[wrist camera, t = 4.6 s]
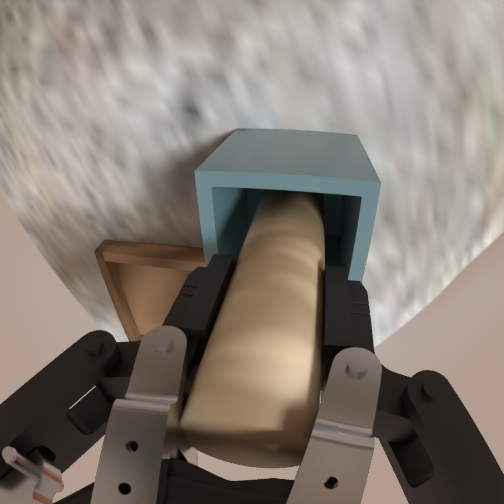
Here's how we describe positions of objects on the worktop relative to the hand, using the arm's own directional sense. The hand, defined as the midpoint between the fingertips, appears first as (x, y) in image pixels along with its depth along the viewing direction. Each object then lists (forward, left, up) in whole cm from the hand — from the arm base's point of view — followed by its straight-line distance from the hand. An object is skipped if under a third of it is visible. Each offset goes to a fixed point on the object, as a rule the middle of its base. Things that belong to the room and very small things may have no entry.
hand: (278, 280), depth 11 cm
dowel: (0, 0, -8) cm, 8 cm away
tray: (+8, +10, -9) cm, 16 cm away
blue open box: (0, 0, -9) cm, 9 cm away
